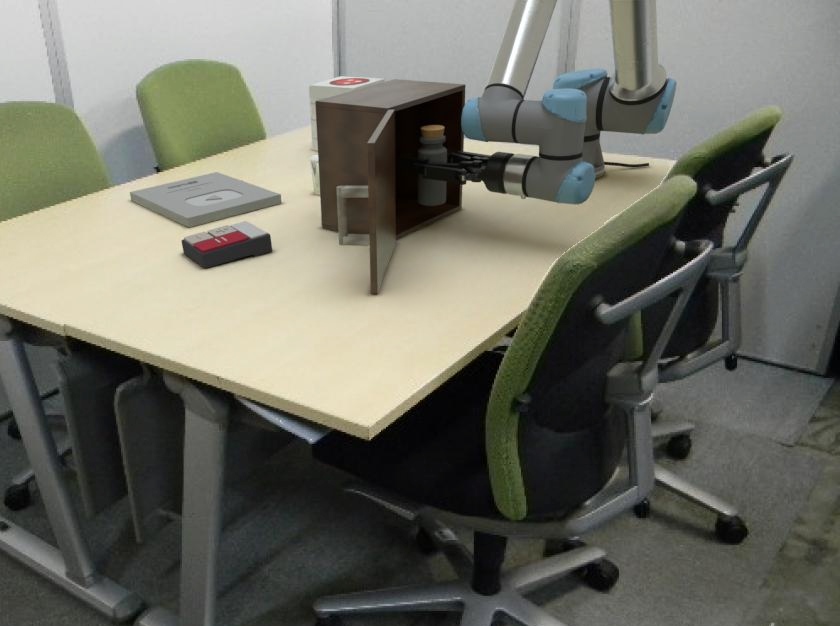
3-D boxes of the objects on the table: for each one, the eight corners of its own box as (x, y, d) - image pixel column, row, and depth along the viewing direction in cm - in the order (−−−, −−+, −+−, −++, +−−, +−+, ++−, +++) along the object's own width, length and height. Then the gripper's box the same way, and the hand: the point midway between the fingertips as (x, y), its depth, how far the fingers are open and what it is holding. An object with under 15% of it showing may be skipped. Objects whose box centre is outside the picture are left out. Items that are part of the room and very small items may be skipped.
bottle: (428, 207, 173) (429, 132, 165) (411, 201, 177) (411, 127, 170) (451, 202, 175) (453, 127, 168) (435, 196, 180) (436, 122, 172)
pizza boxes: (362, 168, 222) (360, 96, 213) (302, 149, 244) (298, 83, 235) (421, 155, 230) (421, 85, 221) (358, 137, 252) (356, 73, 244)
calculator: (179, 236, 171) (246, 217, 176) (183, 256, 173) (249, 237, 179) (201, 250, 162) (270, 230, 168) (204, 272, 165) (273, 251, 170)
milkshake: (331, 189, 207) (329, 147, 202) (329, 195, 202) (327, 152, 197) (312, 189, 207) (310, 148, 202) (310, 196, 203) (308, 153, 198)
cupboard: (461, 209, 186) (465, 84, 173) (389, 243, 170) (387, 108, 157) (395, 197, 197) (394, 79, 184) (321, 228, 181) (315, 100, 168)
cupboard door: (337, 292, 149) (331, 143, 136) (361, 243, 171) (357, 110, 158) (377, 293, 148) (374, 142, 135) (395, 243, 170) (394, 109, 157)
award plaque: (217, 180, 221) (216, 171, 220) (281, 203, 199) (280, 194, 198) (131, 200, 209) (129, 191, 208) (188, 227, 187) (187, 218, 186)
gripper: (483, 206, 157) (383, 189, 171) (534, 181, 169) (437, 167, 183) (485, 165, 154) (383, 151, 168) (537, 143, 165) (437, 131, 179)
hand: (411, 159), depth 175 cm, fingers closed on bottle, 6 cm apart
